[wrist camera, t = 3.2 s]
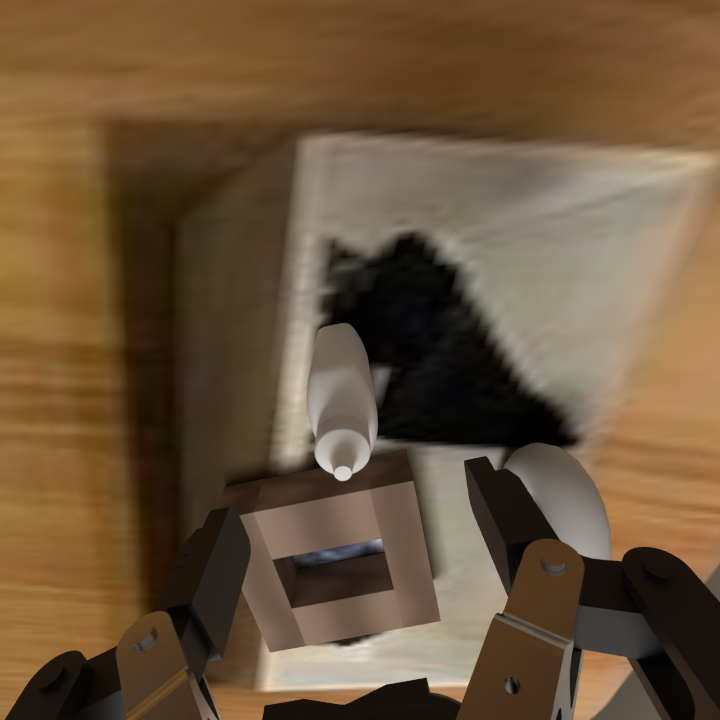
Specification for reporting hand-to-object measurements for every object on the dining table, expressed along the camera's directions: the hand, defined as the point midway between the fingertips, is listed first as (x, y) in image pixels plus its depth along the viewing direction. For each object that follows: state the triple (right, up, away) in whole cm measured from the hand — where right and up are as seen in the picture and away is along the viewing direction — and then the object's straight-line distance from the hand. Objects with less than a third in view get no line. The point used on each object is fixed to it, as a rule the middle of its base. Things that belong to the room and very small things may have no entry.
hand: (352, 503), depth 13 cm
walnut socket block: (-2, -10, +19) cm, 21 cm away
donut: (+12, -4, +17) cm, 21 cm away
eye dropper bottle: (-1, +5, +13) cm, 14 cm away
